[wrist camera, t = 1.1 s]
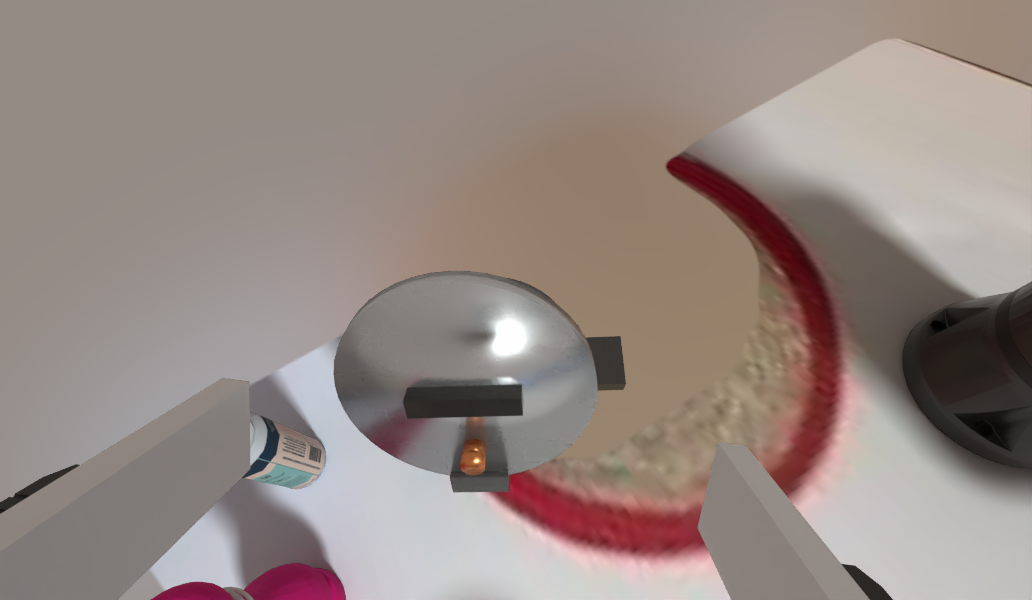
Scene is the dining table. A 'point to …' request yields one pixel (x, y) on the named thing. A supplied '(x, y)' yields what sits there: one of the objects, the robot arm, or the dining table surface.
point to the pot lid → (466, 377)
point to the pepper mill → (267, 587)
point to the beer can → (283, 455)
